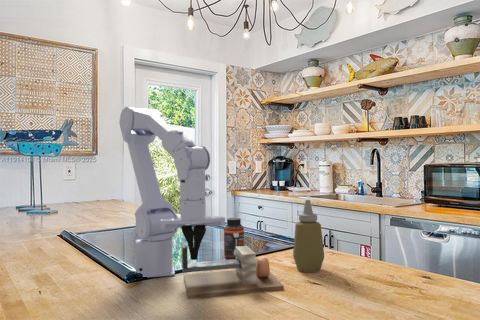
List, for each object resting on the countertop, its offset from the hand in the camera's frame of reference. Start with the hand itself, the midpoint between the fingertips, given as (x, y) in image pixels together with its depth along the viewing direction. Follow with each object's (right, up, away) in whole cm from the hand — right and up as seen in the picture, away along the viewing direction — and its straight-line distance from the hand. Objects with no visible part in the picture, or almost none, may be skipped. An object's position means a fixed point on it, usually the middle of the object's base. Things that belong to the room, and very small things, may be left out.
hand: (193, 258), depth 85 cm
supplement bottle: (+9, -6, +25) cm, 28 cm away
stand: (+8, -6, +2) cm, 11 cm away
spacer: (+15, -3, +3) cm, 15 cm away
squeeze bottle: (+28, -6, +11) cm, 31 cm away
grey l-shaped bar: (+5, -2, +1) cm, 5 cm away
